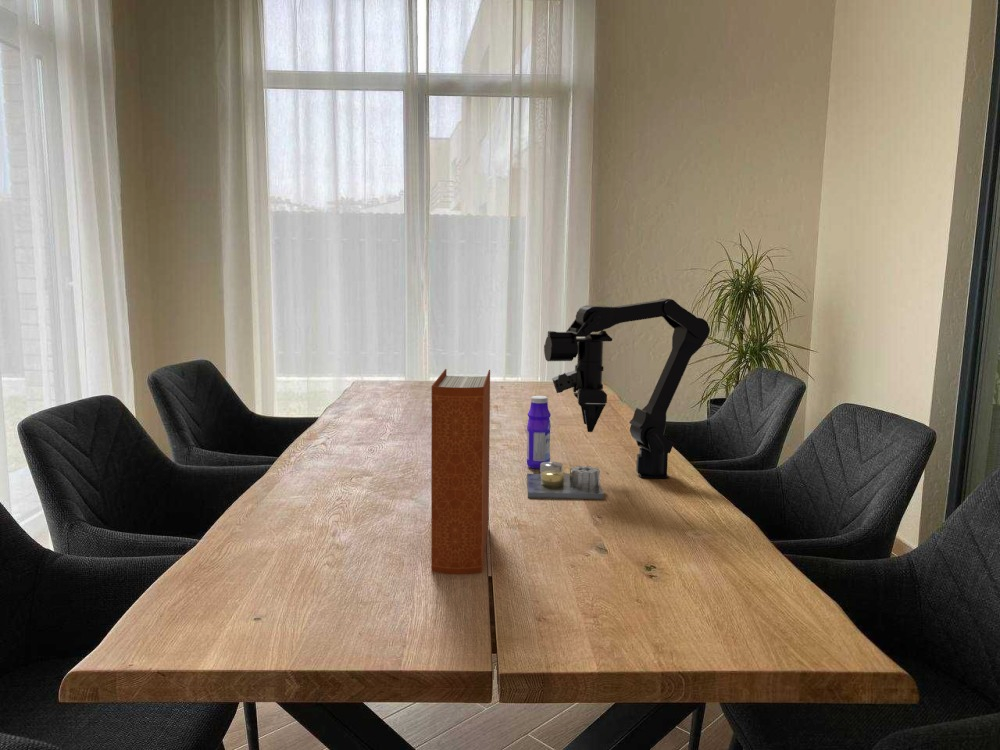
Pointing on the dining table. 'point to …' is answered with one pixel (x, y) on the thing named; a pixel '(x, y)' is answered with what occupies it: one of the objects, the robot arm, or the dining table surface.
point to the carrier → (557, 484)
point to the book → (459, 473)
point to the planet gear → (584, 477)
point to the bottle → (538, 432)
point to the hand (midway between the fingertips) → (588, 427)
